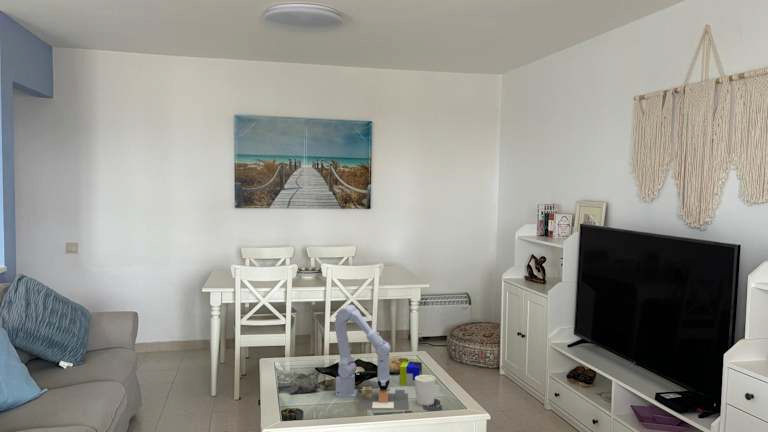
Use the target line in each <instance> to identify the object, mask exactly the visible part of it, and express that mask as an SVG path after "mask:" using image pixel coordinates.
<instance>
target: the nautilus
mask: <svg viewBox="0 0 768 432" xmlns="http://www.w3.org/2000/svg"><path fill="white" fill-rule="evenodd" d="M403 361H407V362H413V359H409V358H408V357H402V356H395V357H391V358H390V357H389V373H393V374H400V366H401V364H402V363H403Z"/></svg>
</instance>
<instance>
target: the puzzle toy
mask: <svg viewBox="0 0 768 432" xmlns="http://www.w3.org/2000/svg"><path fill="white" fill-rule="evenodd" d="M422 365H423V363H422V362H421V361H408V362H407V361H403V363H402V364H401V366H400V373H399V385H400V386H409V387H411V386H412V387H416V386H415V377H416V376H419V375H423V373H422V371H423V370H422V369H423V368H422V367H423V366H422Z"/></svg>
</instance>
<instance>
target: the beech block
mask: <svg viewBox="0 0 768 432" xmlns="http://www.w3.org/2000/svg"><path fill="white" fill-rule="evenodd" d="M361 391H362V392H361V393H362V399H372V393H373V387H372V386H362V390H361Z"/></svg>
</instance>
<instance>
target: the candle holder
mask: <svg viewBox="0 0 768 432" xmlns="http://www.w3.org/2000/svg"><path fill="white" fill-rule="evenodd" d="M436 380H437V379H436V376H434V375H431V374H422V375H419V376H416V377H415V386H414V387H415V399H416V404H417V405H420V406H431V405H434V403H435V392H436V391H435V390H436Z"/></svg>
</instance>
